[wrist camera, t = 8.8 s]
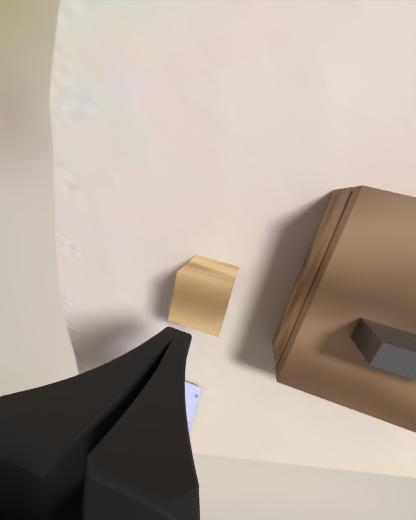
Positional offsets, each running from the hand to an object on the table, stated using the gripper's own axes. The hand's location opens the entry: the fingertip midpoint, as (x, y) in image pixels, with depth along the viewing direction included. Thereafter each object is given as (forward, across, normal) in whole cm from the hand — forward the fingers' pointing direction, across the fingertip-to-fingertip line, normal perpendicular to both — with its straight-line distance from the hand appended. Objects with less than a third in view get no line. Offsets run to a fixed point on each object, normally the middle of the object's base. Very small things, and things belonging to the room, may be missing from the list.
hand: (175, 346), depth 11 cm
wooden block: (+10, 0, 0) cm, 10 cm away
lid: (+6, -13, -3) cm, 15 cm away
